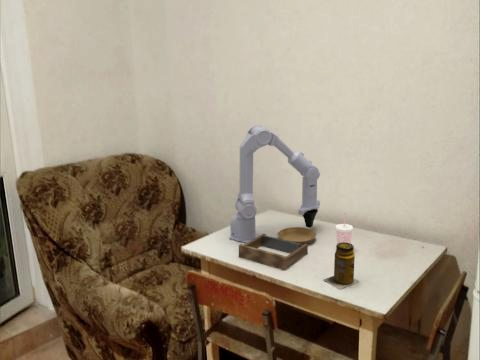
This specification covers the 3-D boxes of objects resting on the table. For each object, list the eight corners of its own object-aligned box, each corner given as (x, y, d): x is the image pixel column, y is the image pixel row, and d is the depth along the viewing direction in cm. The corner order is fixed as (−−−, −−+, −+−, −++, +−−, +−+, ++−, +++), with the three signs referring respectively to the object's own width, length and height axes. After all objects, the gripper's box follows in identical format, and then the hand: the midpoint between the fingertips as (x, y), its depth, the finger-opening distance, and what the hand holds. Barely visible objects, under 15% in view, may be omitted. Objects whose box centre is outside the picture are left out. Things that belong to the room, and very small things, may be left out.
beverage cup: (331, 250, 164) (332, 214, 161) (340, 245, 169) (341, 209, 165) (346, 255, 160) (347, 217, 157) (355, 249, 165) (356, 213, 161)
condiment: (359, 281, 142) (361, 246, 138) (340, 289, 137) (341, 253, 134) (342, 273, 147) (343, 238, 144) (323, 280, 143) (324, 245, 140)
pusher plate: (262, 245, 170) (261, 235, 169) (263, 244, 171) (263, 234, 170) (299, 255, 161) (299, 244, 160) (300, 254, 162) (300, 243, 161)
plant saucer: (272, 235, 180) (272, 229, 179) (306, 231, 184) (306, 225, 183) (285, 250, 166) (285, 243, 166) (322, 244, 170) (322, 238, 169)
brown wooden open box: (238, 256, 161) (238, 245, 160) (263, 242, 173) (263, 231, 172) (285, 270, 150) (285, 257, 149) (307, 253, 163) (307, 241, 161)
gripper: (310, 200, 171) (309, 234, 174) (327, 191, 182) (326, 223, 186) (293, 198, 175) (293, 230, 178) (311, 188, 186) (310, 220, 190)
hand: (309, 226), depth 182 cm, fingers closed
